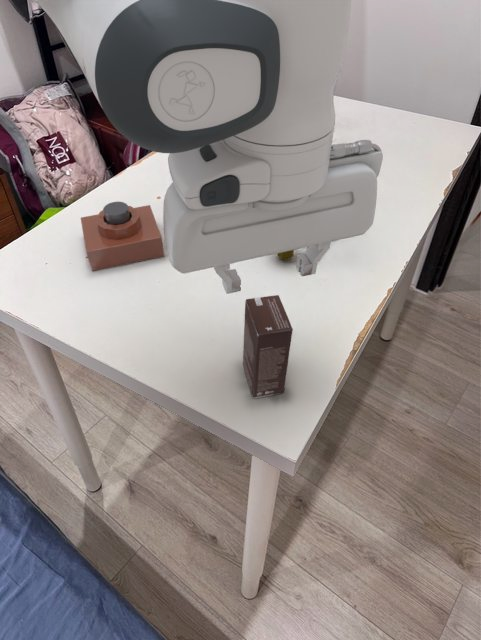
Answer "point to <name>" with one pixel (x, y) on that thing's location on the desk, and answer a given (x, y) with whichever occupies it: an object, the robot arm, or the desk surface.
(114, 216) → the grey push button
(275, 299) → the box
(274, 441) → the desk surface
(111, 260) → the brown button mount
